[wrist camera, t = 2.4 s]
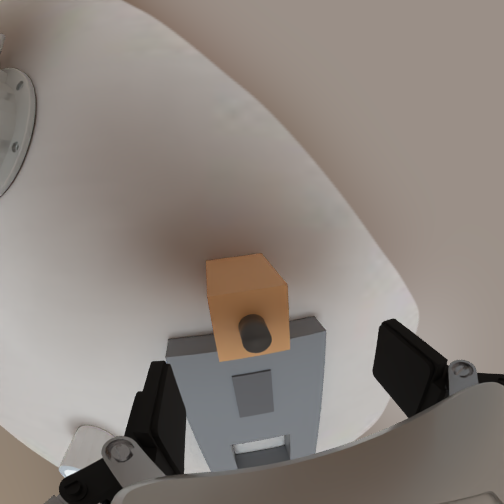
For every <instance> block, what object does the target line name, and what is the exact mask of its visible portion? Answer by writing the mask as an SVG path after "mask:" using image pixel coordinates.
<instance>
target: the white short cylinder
mask: <svg viewBox="0 0 504 504" xmlns="http://www.w3.org/2000/svg"><path fill="white" fill-rule="evenodd" d="M111 438H114V436H113V435H111V434H110V433H108V432H107V431H105V430H103V429H100V428H98V427H94V426H90V425H83V426H81V427H79V428H78V430H77V432H76V434H75V436H74V438H73V440H72V442H71V444H70V446H69V448H68V450H67V452H66V454H65V456H64V458H63V460H62V462H61V464H60V466H59V471H60V473H61V474H62V475H63V477H65V478H66V477H67V476H69V475H71V474H73V473H75V472H77V471H79V470H81V469H83V468H85V467H87V466H89V465H90V464H92V463H94V462H96V461H98V460H100V459H101V458H103V457H102V454H101V451H102V447H103V445H104V444H105V443H106V442H107V441H108V440H110V439H111Z"/></svg>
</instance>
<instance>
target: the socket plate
mask: <svg viewBox="0 0 504 504" xmlns="http://www.w3.org/2000/svg"><path fill="white" fill-rule="evenodd" d="M289 330H290V350H285V351H280V352H275V353H270V354H265V355H260V356H254V357H248V358H242V359H236V360H229V361H222V362H219V357H218V352H217V347H216V342H215V337H214V334H211V335H203V336H195V337H187V338H178V339H169V340H168V346H167V351H166V357H165V358H166V361H167V364H170V365H171V367H172V370H173V373H174V376H175V379H176V382H177V385H178V388H179V391H180V394H181V397H182V400H183V402H184V405H185V408H186V416H187V419H188V421H189V424H190V426H191V429H192V431H193V433H194V436H195V438H196V440H197V443H198V445H199V447H200V449H201V451H202V454H203V456H204V458H205V460H206V462H207V464H208V466H209V468H210V470H211V472H216V471H226V470H235V469H242V468H249V467H256V466H262V465H268V464H273V463H278V462H283V461H288V460H292V459H296V458H300V457H304V456H308V455H312V454H315V452H316V445H317V437H318V429H319V421H320V412H321V402H322V391H323V379H324V365H325V348H326V330H325V329H324V327H323V326H322V325H321V324H320V323H319V321H318V320H317V319H316V318H315V317H309V318H304V319H299V320H294V321H289ZM283 435H285V445H284V446H280V447H275V448H271V449H266V450H260V451H255V452H249V453H243V454H236V455H235V452H234V449H233V445H234V444H241V443H247V442H253V441H259V440H264V439H269V438H274V437H278V436H283Z"/></svg>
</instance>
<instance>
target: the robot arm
mask: <svg viewBox="0 0 504 504" xmlns="http://www.w3.org/2000/svg"><path fill="white" fill-rule="evenodd" d="M4 40H5V35H4V34H1V33H0V53H1V50H2V47H3V44H4ZM34 118H35V93H34V87H33V85H32V82H31V80H30V79H29V77H28V76H27V75H26V74H25V73H23V72H22V71H20V70H18V69H15V68H4V69H1V70H0V196H1V195H2V194H3V193H4V192H5V191H6V190H7V188H8V187H9V186H10V184H11V183H12V181H13V180H14V178H15V176H16V174H17V172H18V170H19V169H20V166H21V164H22V162H23V159H24V157H25V154H26V151H27V148H28V145H29V142H30V139H31V134H32V130H33V125H34ZM373 375H374V377H375V378H376V379H377V381H378V382H379V383H380V384H381V385H382V387H383V388H384V389H385V390H386V391H387V393H388V394H389V395H390V396H391V397H392V399H393V400H394V401H395V402H396V403H397V405H398V406H399V407H400V408H401V409H402V411H403V412H404V413H405V414H406V415H407V417H408V419H406V420H404V421H402V422H400V423H397V424H395V425H393V426H391V427H389V428H386V429H384V430H382V431H379V432H377V433H374V434H372V435H369V436H367V437H364V438H362V439H359V440H356V441H353V442H351V443H348V444H345V445H342V446H339V447H336V448H333V449H329V450H326V451H323V452H319V453H316V454H312V455H308V456H304V457H300V458H296V459H292V460H288V461H283V462H278V463H273V464H268V465H262V466H256V467H249V468H242V469H235V470H226V471H216V472H204V473H192V474H184V453H185V431H186V408H185V405H184V402H183V400H182V397H181V394H180V391H179V388H178V385H177V382H176V379H175V376H174V373H173V370H172V367H171V365H170V364H166V362H165V361H152V362H151V365H150V368H149V371H148V375H147V378H146V382H145V385H144V389H143V391H138V392H137V393H136V396H135V399H134V403H133V406H132V410H131V413H130V417H129V420H128V424H127V427H126V431H125V435H124V436H118V437H114V438H111V439H110V440H108V441H107V442H106V443H105V444H104V445H103V447H102V451H101V454H102V457H103V458H101V459H100V460H98V461H96V462H94V463H92V464H90V465H89V466H87V467H85V468H83V469H81V470H79V471H77V472H75V473H73V474H71V475H69V476H67V477H66V478H64V479H63V480H62V482H61V483H60V486H59V492H60V494H59V495H58V496H57V497H56V496H55V495H53V496H52V497H51V498H50V499H49V500H48V501H46V502H45V503H44V504H504V375H503V374H486V373H477V372H476V368H475V366H474V365H473V364H472V363H470V362H469V361H465V360H456V361H453V362H452V363H450V365H449V366H448V365H447V359H446V358H444V357H443V356H442V355H441V354H440V353H438V352H437V351H436V350H434V349H433V348H432V347H431V346H429V345H428V344H427V343H426V342H424V341H423V340H422V339H420V338H419V337H418V336H417V335H415V334H414V333H413V332H411V331H410V330H409V329H408V328H406V327H405V326H404V325H402V324H401V323H400V322H398V321H397V320H396V319H390V320H387V321H384V322H382V325H381V326H380V327H379V332H378V340H377V347H376V353H375V359H374V365H373Z"/></svg>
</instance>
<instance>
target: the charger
mask: <svg viewBox="0 0 504 504" xmlns="http://www.w3.org/2000/svg"><path fill="white" fill-rule="evenodd" d="M206 279H207V298H208V304H209V310H210V316H211V321H212V327H213V332H214V337H215V342H216V347H217V352H218V357H219V362H222V361H229V360H236V359H242V358H248V357H254V356H260V355H265V354H270V353H275V352H280V351H285V350H290V330H289V306H288V286H287V283H286V282H285V281H284V280H283V279H282V277H281V276H280V275H279V274H278V273H277V271H276V270H275V269H274V268H273V267H272V265H271V264H270V263H269V262H268V261H267V259H266V258H265V257H264V256H263V255H262V253H258V254H251V255H244V256H237V257H229V258H222V259H215V260H207V261H206Z"/></svg>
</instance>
